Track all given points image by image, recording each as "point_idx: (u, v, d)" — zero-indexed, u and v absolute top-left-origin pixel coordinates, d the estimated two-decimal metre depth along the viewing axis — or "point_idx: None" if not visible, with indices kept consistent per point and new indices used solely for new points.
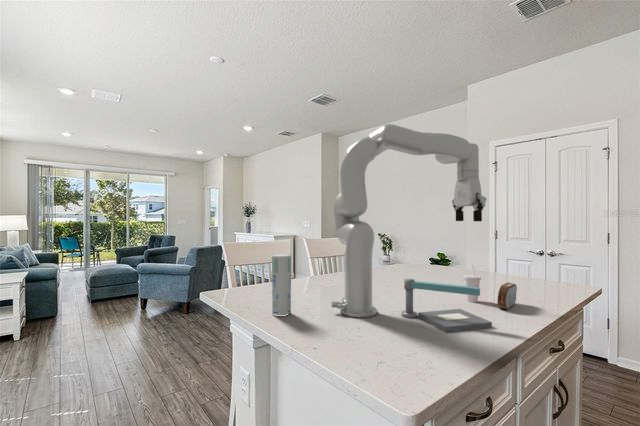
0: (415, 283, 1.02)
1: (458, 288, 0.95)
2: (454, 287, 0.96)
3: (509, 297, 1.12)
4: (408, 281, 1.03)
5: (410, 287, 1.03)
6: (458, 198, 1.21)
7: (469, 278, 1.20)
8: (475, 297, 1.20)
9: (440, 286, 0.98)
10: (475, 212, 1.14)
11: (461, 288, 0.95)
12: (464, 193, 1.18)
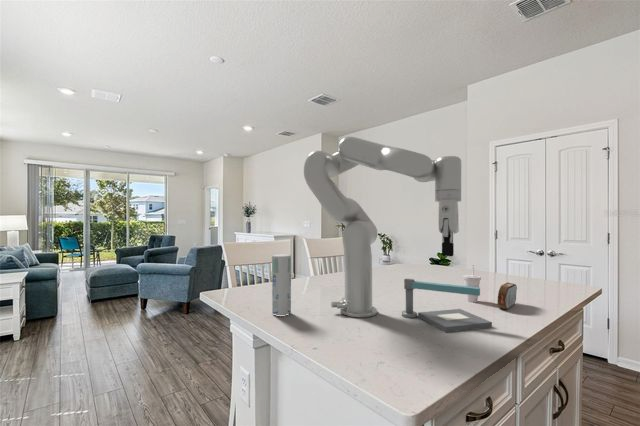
0: (415, 283, 1.02)
1: (458, 288, 0.95)
2: (454, 287, 0.96)
3: (509, 297, 1.12)
4: (408, 281, 1.03)
5: (410, 287, 1.03)
6: (456, 223, 0.94)
7: (469, 278, 1.20)
8: (475, 297, 1.20)
9: (440, 286, 0.98)
10: None
11: (461, 288, 0.95)
12: None
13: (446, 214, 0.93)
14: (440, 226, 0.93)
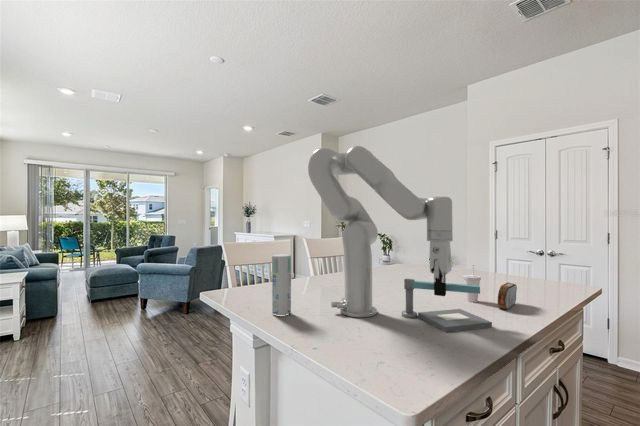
0: (416, 283, 1.02)
1: (459, 287, 0.97)
2: (455, 286, 0.98)
3: (509, 297, 1.12)
4: (409, 281, 1.03)
5: (411, 287, 1.03)
6: (448, 264, 0.94)
7: (469, 278, 1.20)
8: (475, 297, 1.20)
9: None
10: None
11: (462, 287, 0.97)
12: (450, 257, 0.97)
13: (436, 255, 0.93)
14: (431, 267, 0.94)
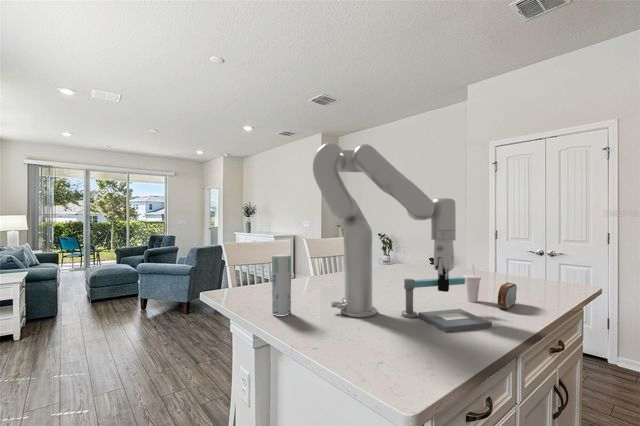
0: (417, 282, 1.04)
1: (450, 280, 1.07)
2: None
3: (509, 297, 1.12)
4: (412, 281, 1.03)
5: (413, 287, 1.03)
6: (451, 262, 1.01)
7: (469, 278, 1.20)
8: (475, 297, 1.20)
9: (437, 281, 1.06)
10: None
11: (452, 280, 1.07)
12: (453, 255, 1.04)
13: (440, 253, 0.99)
14: (435, 264, 1.00)
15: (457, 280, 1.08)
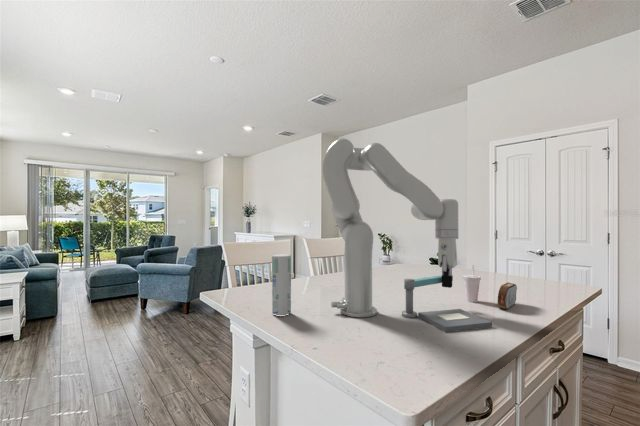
0: (416, 281, 1.04)
1: None
2: (440, 278, 1.10)
3: (509, 297, 1.12)
4: (413, 281, 1.03)
5: (414, 286, 1.03)
6: (454, 259, 1.06)
7: (469, 278, 1.20)
8: (475, 297, 1.20)
9: (432, 279, 1.08)
10: None
11: None
12: (456, 253, 1.09)
13: (445, 251, 1.05)
14: (439, 261, 1.06)
15: None
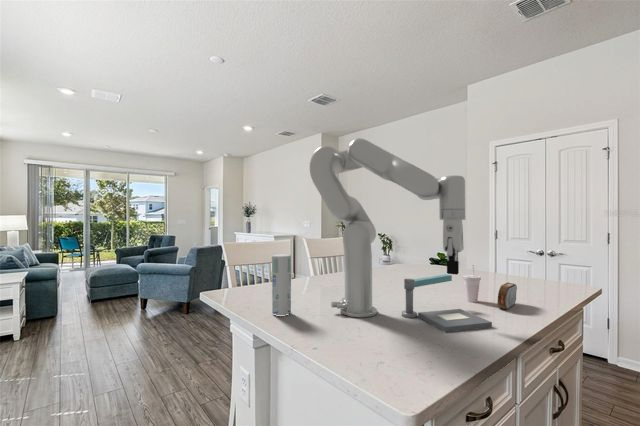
0: (416, 281, 1.05)
1: (441, 278, 1.11)
2: (439, 278, 1.11)
3: (509, 297, 1.12)
4: (413, 281, 1.03)
5: (414, 286, 1.03)
6: (461, 242, 0.95)
7: (469, 278, 1.20)
8: (475, 297, 1.20)
9: (432, 279, 1.09)
10: None
11: (443, 277, 1.12)
12: (462, 236, 0.98)
13: (450, 233, 0.94)
14: (444, 245, 0.95)
15: (446, 277, 1.13)
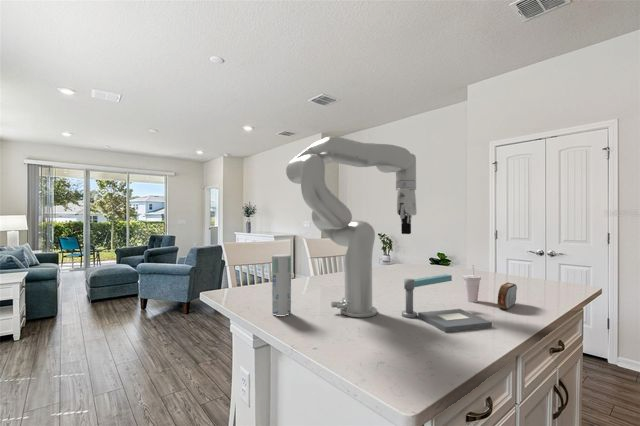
0: (416, 281, 1.05)
1: (441, 278, 1.11)
2: (439, 278, 1.11)
3: (509, 297, 1.12)
4: (413, 281, 1.03)
5: (414, 286, 1.03)
6: (411, 207, 1.17)
7: (469, 278, 1.20)
8: (475, 297, 1.20)
9: (432, 279, 1.09)
10: None
11: (443, 277, 1.12)
12: (414, 203, 1.20)
13: (402, 200, 1.16)
14: (398, 209, 1.17)
15: (446, 277, 1.13)
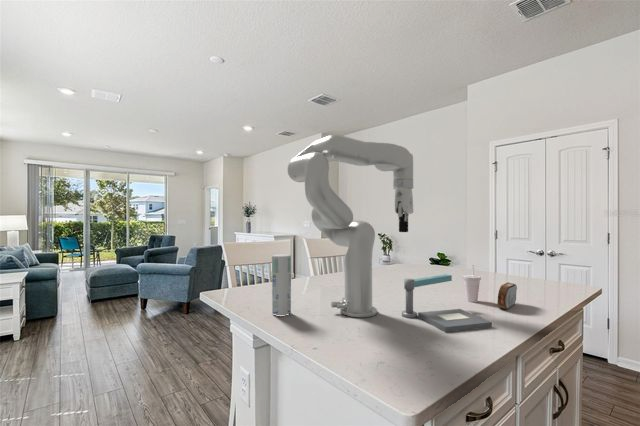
0: (416, 281, 1.05)
1: (441, 278, 1.11)
2: (439, 278, 1.11)
3: (509, 297, 1.12)
4: (413, 281, 1.03)
5: (414, 286, 1.03)
6: (409, 206, 1.19)
7: (469, 278, 1.20)
8: (475, 297, 1.20)
9: (432, 279, 1.09)
10: None
11: (443, 277, 1.12)
12: (411, 201, 1.22)
13: (400, 198, 1.17)
14: (395, 208, 1.18)
15: (446, 277, 1.13)
